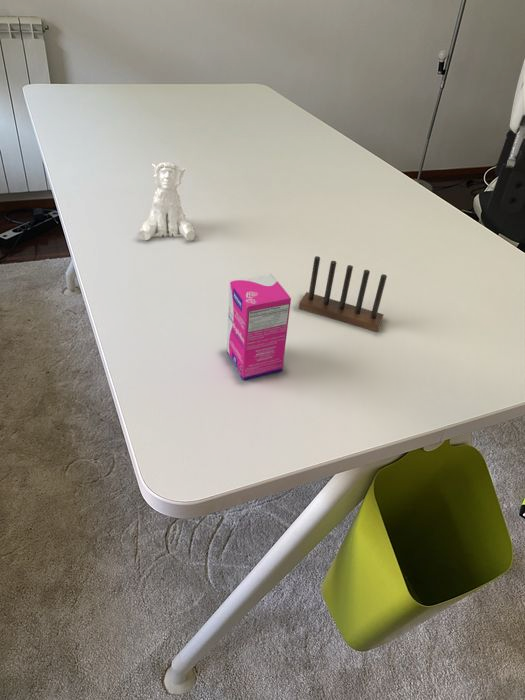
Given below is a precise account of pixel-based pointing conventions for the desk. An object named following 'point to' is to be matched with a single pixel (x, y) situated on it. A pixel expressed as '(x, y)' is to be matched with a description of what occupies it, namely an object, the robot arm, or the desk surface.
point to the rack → (343, 300)
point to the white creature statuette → (167, 206)
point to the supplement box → (257, 325)
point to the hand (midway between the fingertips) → (508, 196)
